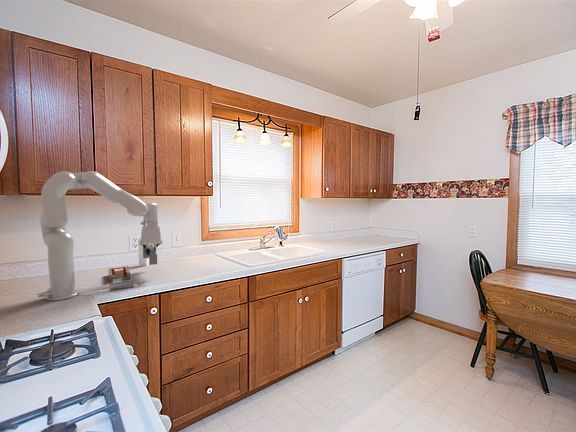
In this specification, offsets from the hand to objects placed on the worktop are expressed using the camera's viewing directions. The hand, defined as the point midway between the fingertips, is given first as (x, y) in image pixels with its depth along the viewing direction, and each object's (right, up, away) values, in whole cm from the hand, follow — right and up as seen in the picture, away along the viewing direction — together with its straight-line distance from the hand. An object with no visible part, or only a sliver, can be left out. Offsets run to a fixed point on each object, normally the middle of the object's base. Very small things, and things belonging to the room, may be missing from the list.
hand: (151, 254), depth 168 cm
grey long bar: (-2, -4, +3) cm, 5 cm away
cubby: (-14, -14, -8) cm, 21 cm away
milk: (-16, -12, +27) cm, 34 cm away
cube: (-18, -13, -2) cm, 22 cm away
